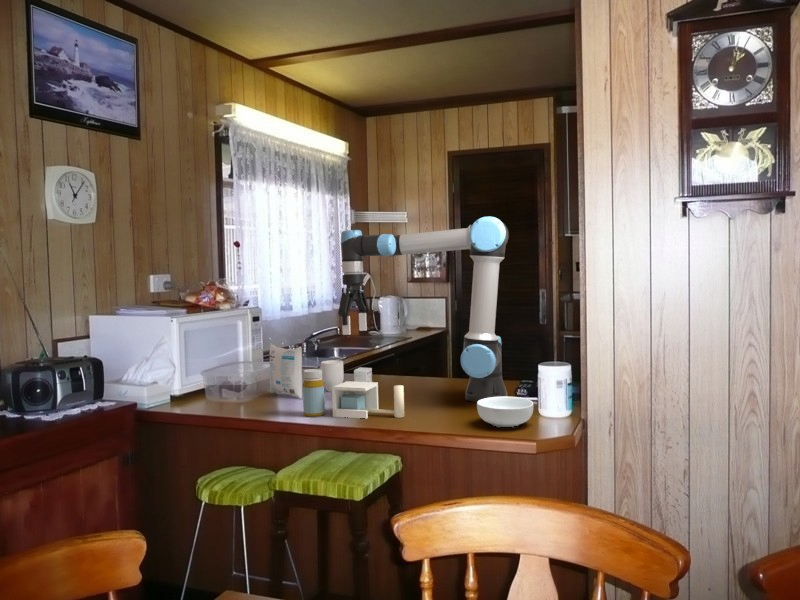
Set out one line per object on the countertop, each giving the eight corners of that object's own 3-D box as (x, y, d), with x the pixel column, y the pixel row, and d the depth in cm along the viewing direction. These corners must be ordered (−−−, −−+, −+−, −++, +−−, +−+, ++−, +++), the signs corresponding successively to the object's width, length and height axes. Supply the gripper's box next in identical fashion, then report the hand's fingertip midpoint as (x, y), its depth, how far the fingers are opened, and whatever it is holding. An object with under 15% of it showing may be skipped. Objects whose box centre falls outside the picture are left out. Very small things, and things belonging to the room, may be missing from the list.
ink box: (367, 403, 230) (366, 370, 229) (353, 403, 231) (352, 370, 230) (372, 398, 238) (371, 366, 237) (360, 398, 239) (359, 366, 238)
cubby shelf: (378, 411, 215) (377, 382, 215) (366, 418, 205) (365, 388, 205) (346, 409, 219) (345, 381, 219) (332, 416, 210) (331, 386, 209)
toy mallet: (407, 414, 209) (406, 384, 209) (400, 418, 204) (400, 387, 203) (348, 411, 217) (348, 382, 216) (341, 415, 211) (340, 385, 210)
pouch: (292, 401, 237) (290, 347, 236) (264, 394, 251) (262, 344, 250) (309, 397, 243) (307, 345, 242) (281, 391, 256) (279, 342, 255)
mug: (349, 389, 256) (347, 360, 255) (333, 394, 249) (332, 364, 248) (328, 387, 263) (327, 358, 262) (313, 391, 256) (311, 361, 255)
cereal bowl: (466, 425, 193) (465, 402, 193) (499, 415, 205) (498, 394, 204) (512, 435, 181) (511, 410, 181) (544, 424, 193) (544, 400, 192)
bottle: (314, 411, 218) (313, 368, 218) (329, 414, 214) (327, 369, 213) (299, 415, 213) (297, 371, 212) (313, 418, 208) (312, 372, 208)
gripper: (358, 273, 241) (360, 329, 242) (326, 274, 218) (329, 336, 219) (376, 272, 238) (378, 329, 239) (346, 273, 215) (349, 336, 216)
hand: (355, 332), depth 229 cm, fingers open, 13 cm apart
